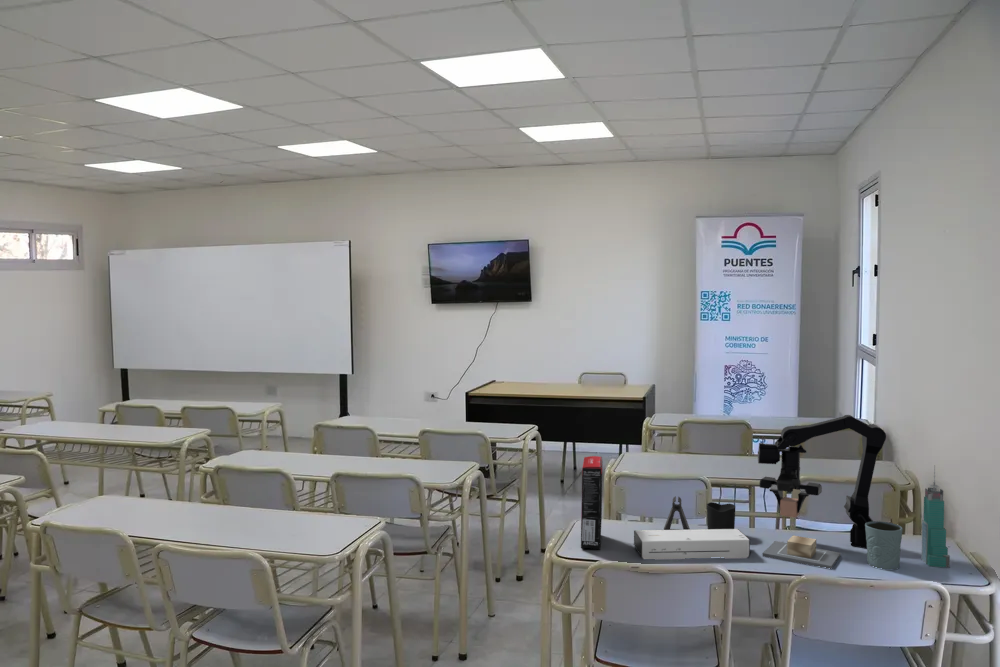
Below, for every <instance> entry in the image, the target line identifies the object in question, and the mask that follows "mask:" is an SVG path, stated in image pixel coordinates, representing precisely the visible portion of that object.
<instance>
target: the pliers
mask: <svg viewBox="0 0 1000 667" xmlns="http://www.w3.org/2000/svg"><path fill="white" fill-rule="evenodd" d="M676 502H677V503H676ZM671 506H672V507H671V509H670V510H669V514H668V517H667V519H666V522H665V524H664V526H663V530H681V529H678V528H677V529H676V528H671V526H672V523H673V520H674V516H675V513H676V512H678V514H679V517H680V522H681V525H682V530H691V529H690V526H689V522H688V520H687V518H686V515H685V512H684V509H683V507H682V498H681V497H680V496H677V497H676V496H673V498H672V505H671Z"/></svg>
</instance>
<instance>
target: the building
mask: <svg viewBox="0 0 1000 667" xmlns="http://www.w3.org/2000/svg"><path fill="white" fill-rule="evenodd" d="M944 523H945V501H944V490H943V489H942V488H940V486H939V485H937V484H936V465H934V472H933V483H932V484H929V487H927V488H926V487H925V489H924V496H923V519H922V521H921V561H923V562H924V563H925V565H927V566H928V567H936V568H950V564H951V563H950V561H951V560H950V557H951V556H950V555H949V548H948V547H947V529H946V528H945V527H944V526H945V524H944Z"/></svg>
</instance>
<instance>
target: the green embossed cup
mask: <svg viewBox="0 0 1000 667" xmlns="http://www.w3.org/2000/svg"><path fill="white" fill-rule="evenodd" d="M865 530H866V540H867V548H866V551H867V552H866V561H867V564H868V565H869V564H870V565H871V566H870V565H869V566H870V567H872V566H874V567H873V568H875V567H877V568H876V569H878V568H882V569H881V570H883V569H896V570H898V569H899V568H900V563H901V546H902V536H903V527H902V526H901V525H899V524H897V523H892V522H890V521H889V522H888V521H880V520H879V521H878V520H876V521H874V520H873V521H871V522H867V523H865ZM897 568H898V569H897Z"/></svg>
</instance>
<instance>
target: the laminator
mask: <svg viewBox="0 0 1000 667" xmlns="http://www.w3.org/2000/svg"><path fill="white" fill-rule="evenodd" d="M750 540H751V539H750V538H749V537H747V536H746V535H745V534H744V533H743V532H742V531H741V530H740V529H739V528H734V529H708V528H706V529H704V528H703V529H690V530H683V529H680V530H664V529H645V530H642V529H641V530H633V545H634V547H635V548H636V551H637V552H638V554H639V555H640V556H641V559H642V560H643V559H655V560H686V559H685V558H711V557H720V558H721V557H724V558H725V559H748V558H750V555H751V554H750V553H751V552H750V551H751V541H750Z"/></svg>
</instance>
